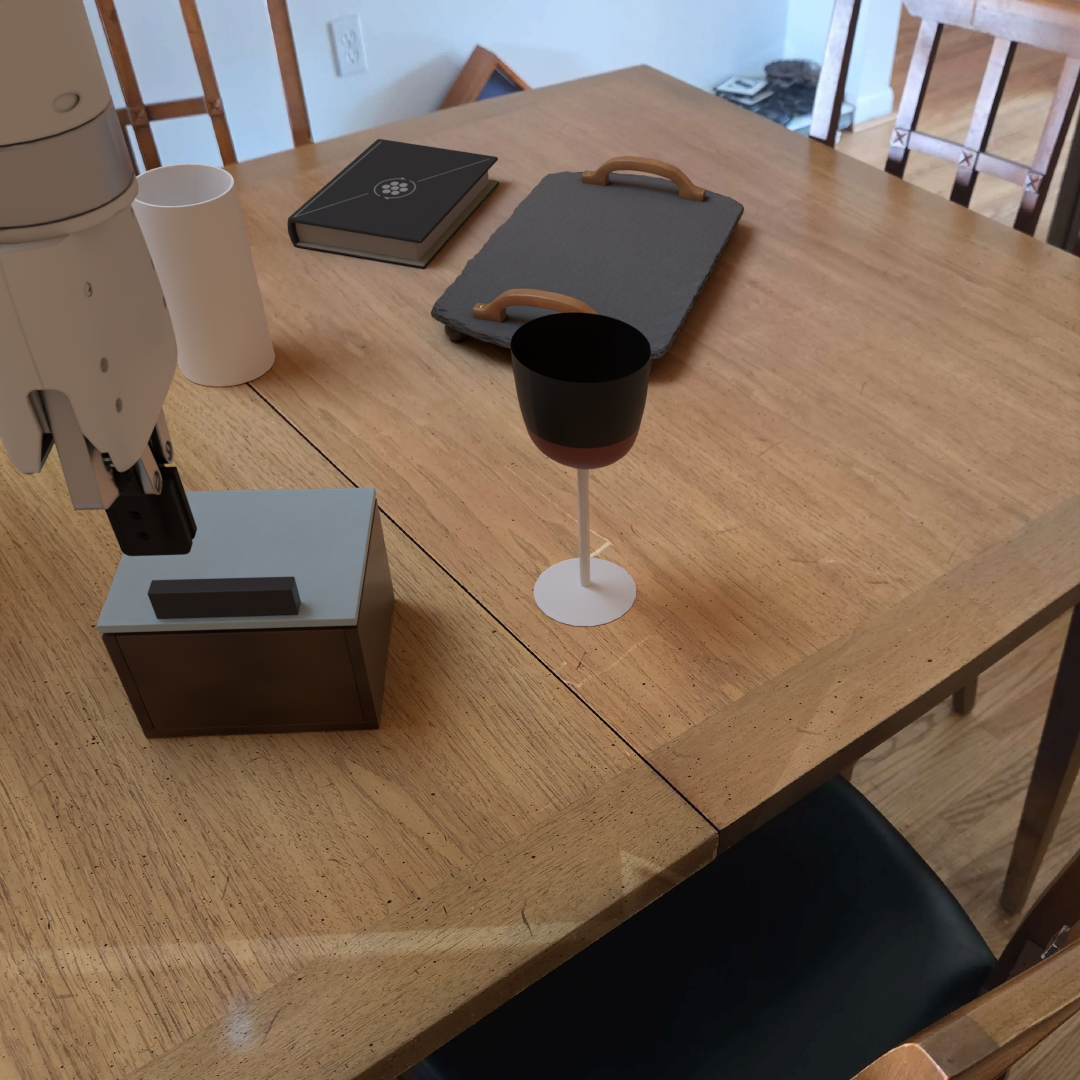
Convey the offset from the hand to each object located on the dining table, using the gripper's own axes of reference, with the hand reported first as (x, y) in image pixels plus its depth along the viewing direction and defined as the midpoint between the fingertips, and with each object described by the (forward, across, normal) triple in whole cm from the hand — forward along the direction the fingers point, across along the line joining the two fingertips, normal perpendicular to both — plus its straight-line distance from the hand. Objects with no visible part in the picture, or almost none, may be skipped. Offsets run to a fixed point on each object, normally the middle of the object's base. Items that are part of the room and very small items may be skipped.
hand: (161, 544), depth 56 cm
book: (+20, -80, +3) cm, 83 cm away
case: (+20, -12, 0) cm, 23 cm away
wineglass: (+20, -18, +21) cm, 34 cm away
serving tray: (+20, -65, +24) cm, 72 cm away
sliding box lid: (+11, -12, 0) cm, 16 cm away
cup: (+20, -50, -10) cm, 55 cm away
